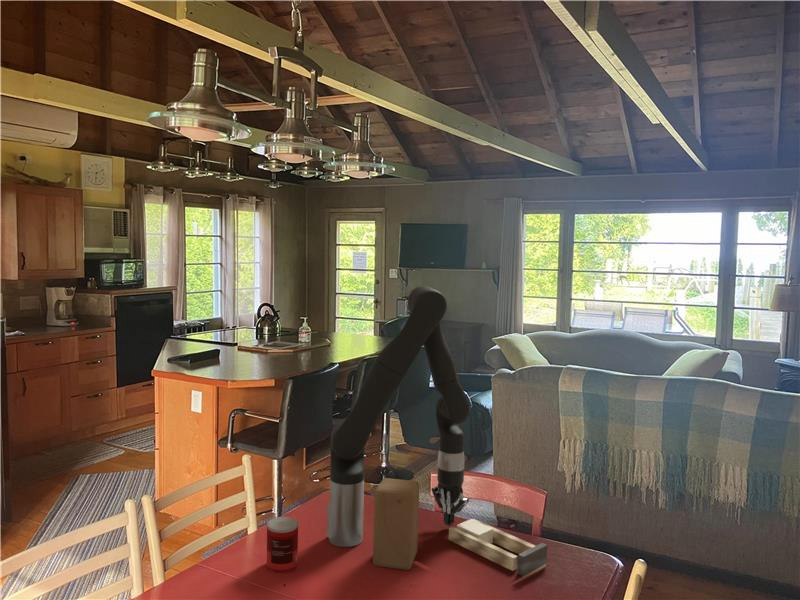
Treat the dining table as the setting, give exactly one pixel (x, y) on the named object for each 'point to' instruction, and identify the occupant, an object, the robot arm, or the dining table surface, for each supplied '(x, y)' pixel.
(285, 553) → the canned food
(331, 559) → the dining table surface
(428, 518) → the dining table surface
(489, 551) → the birch chute
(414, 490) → the wooden block
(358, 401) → the robot arm
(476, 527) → the off-white block
